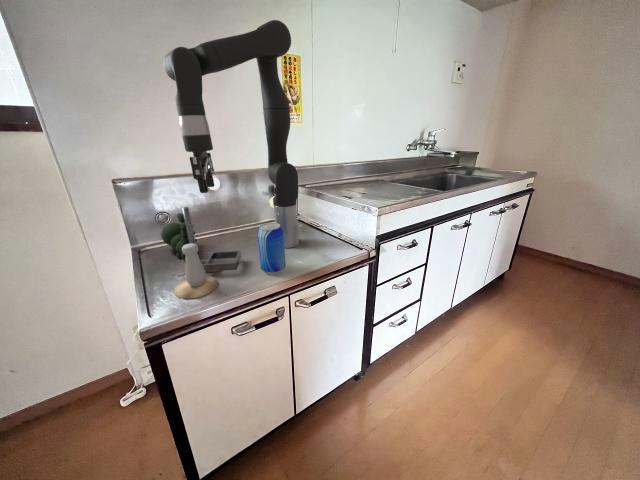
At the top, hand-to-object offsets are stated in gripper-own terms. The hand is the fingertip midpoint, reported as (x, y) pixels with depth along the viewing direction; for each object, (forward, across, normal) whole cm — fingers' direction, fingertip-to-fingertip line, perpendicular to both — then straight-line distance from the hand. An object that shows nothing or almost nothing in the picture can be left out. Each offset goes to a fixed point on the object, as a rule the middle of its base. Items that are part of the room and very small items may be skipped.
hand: (207, 189), depth 82 cm
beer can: (+28, -5, -17) cm, 33 cm away
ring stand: (+27, -1, +3) cm, 27 cm away
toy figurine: (+27, +14, +18) cm, 36 cm away
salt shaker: (+27, -11, +6) cm, 29 cm away
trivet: (+27, -13, +6) cm, 30 cm away
